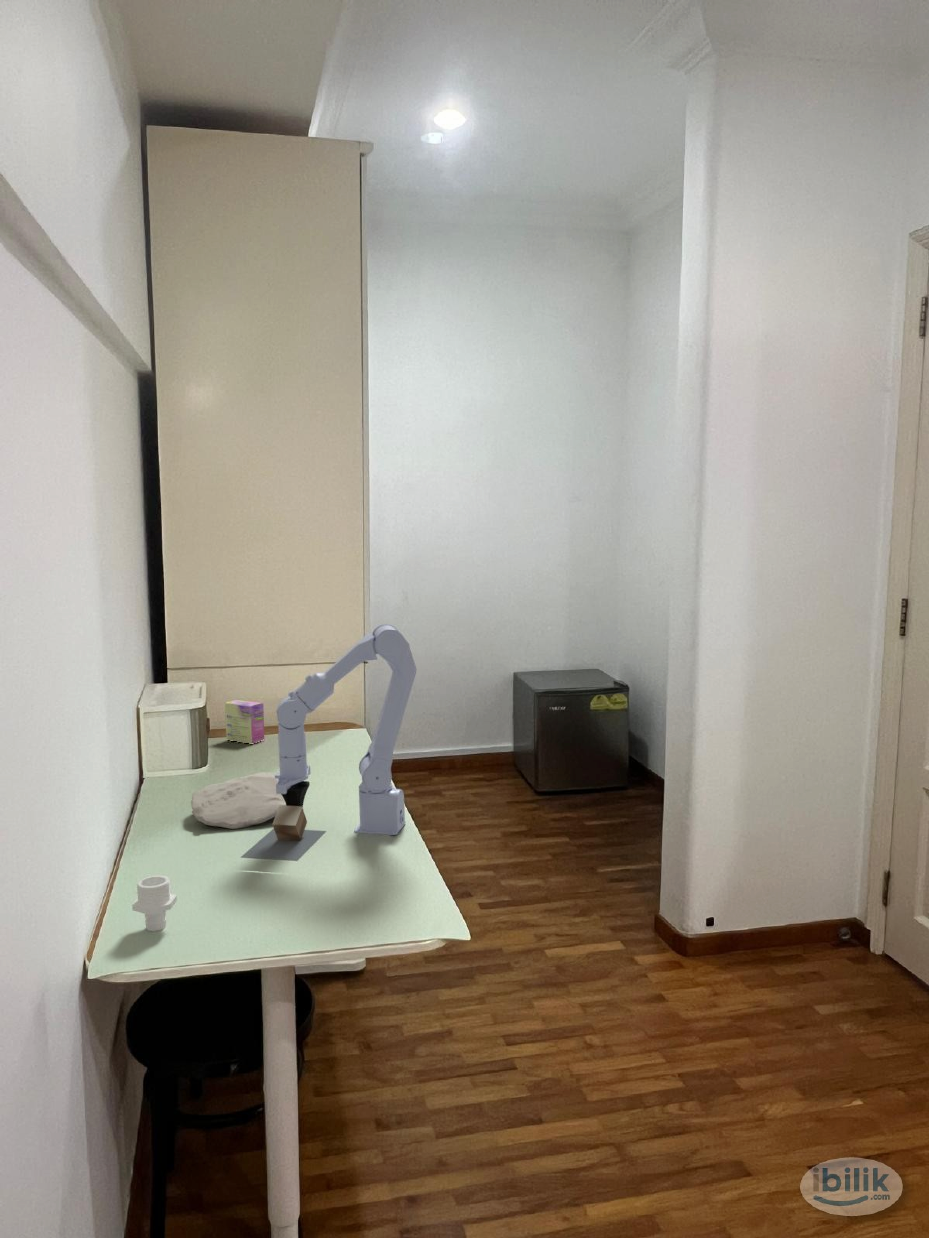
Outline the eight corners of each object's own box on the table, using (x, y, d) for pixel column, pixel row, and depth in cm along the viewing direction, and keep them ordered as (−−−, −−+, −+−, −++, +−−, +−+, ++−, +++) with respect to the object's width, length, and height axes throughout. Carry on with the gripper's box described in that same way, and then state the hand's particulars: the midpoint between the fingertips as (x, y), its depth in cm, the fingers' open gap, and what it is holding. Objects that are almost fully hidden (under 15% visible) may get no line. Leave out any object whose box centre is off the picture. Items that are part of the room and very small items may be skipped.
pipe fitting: (182, 929, 156) (179, 883, 156) (137, 939, 153) (134, 892, 152) (173, 915, 162) (170, 870, 161) (130, 924, 158) (127, 879, 157)
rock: (304, 787, 234) (289, 839, 204) (210, 790, 232) (181, 843, 203) (302, 757, 232) (287, 805, 203) (207, 761, 231) (178, 809, 202)
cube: (307, 821, 200) (302, 806, 197) (300, 840, 196) (295, 825, 193) (284, 820, 201) (279, 805, 198) (277, 839, 197) (272, 824, 194)
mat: (326, 832, 202) (326, 830, 202) (297, 861, 185) (297, 860, 185) (274, 829, 204) (273, 828, 204) (240, 858, 187) (240, 857, 187)
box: (265, 740, 281) (263, 702, 280) (252, 745, 277) (250, 705, 275) (239, 737, 287) (237, 699, 285) (226, 741, 282) (224, 702, 280)
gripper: (287, 745, 206) (290, 805, 208) (260, 763, 192) (264, 827, 194) (318, 746, 205) (320, 806, 206) (293, 764, 191) (296, 828, 192)
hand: (295, 816), depth 200 cm, fingers closed
